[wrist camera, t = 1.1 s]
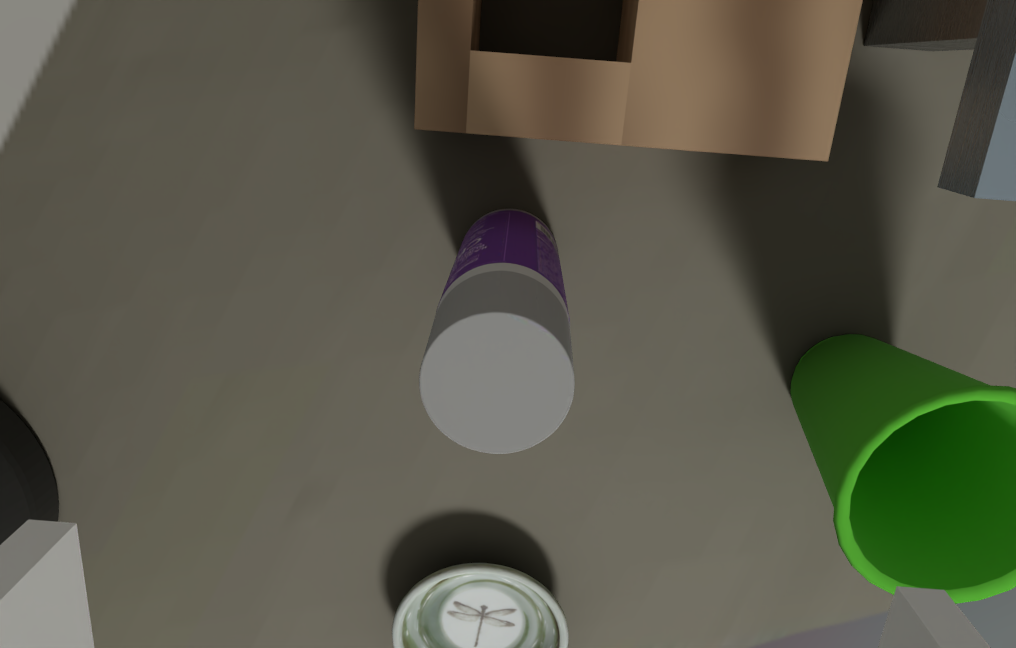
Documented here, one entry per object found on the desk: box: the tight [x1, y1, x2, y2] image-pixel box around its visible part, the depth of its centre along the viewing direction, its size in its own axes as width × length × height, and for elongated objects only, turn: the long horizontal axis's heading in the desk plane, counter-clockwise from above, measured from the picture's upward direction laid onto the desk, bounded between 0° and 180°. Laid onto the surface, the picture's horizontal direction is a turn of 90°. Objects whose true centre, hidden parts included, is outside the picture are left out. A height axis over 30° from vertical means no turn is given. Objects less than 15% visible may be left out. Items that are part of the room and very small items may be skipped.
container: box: [419, 209, 575, 454], centre depth 28 cm, size 5×5×15 cm
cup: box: [791, 334, 1016, 604], centre depth 31 cm, size 9×9×11 cm
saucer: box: [392, 563, 568, 648], centre depth 41 cm, size 10×10×2 cm
